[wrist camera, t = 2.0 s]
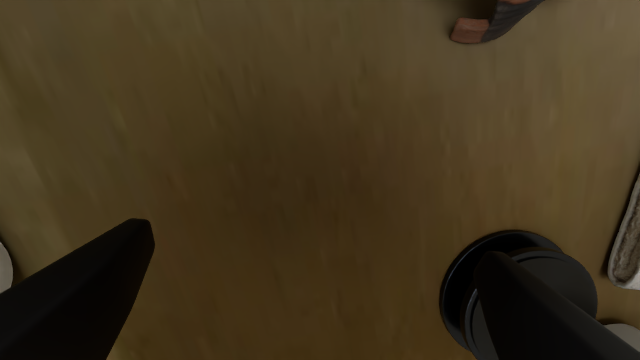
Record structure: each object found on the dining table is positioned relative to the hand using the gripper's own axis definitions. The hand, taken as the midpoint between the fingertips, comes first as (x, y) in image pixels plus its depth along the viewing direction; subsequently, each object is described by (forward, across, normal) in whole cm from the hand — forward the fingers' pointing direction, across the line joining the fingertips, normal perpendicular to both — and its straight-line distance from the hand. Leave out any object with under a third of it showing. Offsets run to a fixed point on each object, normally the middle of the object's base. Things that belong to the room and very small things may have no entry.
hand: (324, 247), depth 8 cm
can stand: (+11, -19, +15) cm, 26 cm away
